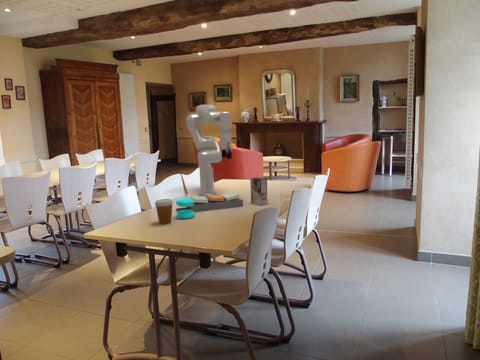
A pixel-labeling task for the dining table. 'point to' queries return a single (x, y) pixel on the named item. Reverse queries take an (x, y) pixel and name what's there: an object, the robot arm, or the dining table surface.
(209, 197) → the rocker middle orange
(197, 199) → the rocker near grey
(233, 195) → the rocker far grey
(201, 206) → the long grey tray
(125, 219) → the dining table surface
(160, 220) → the disposable coffee cup
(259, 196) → the coffee box
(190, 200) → the donuts
